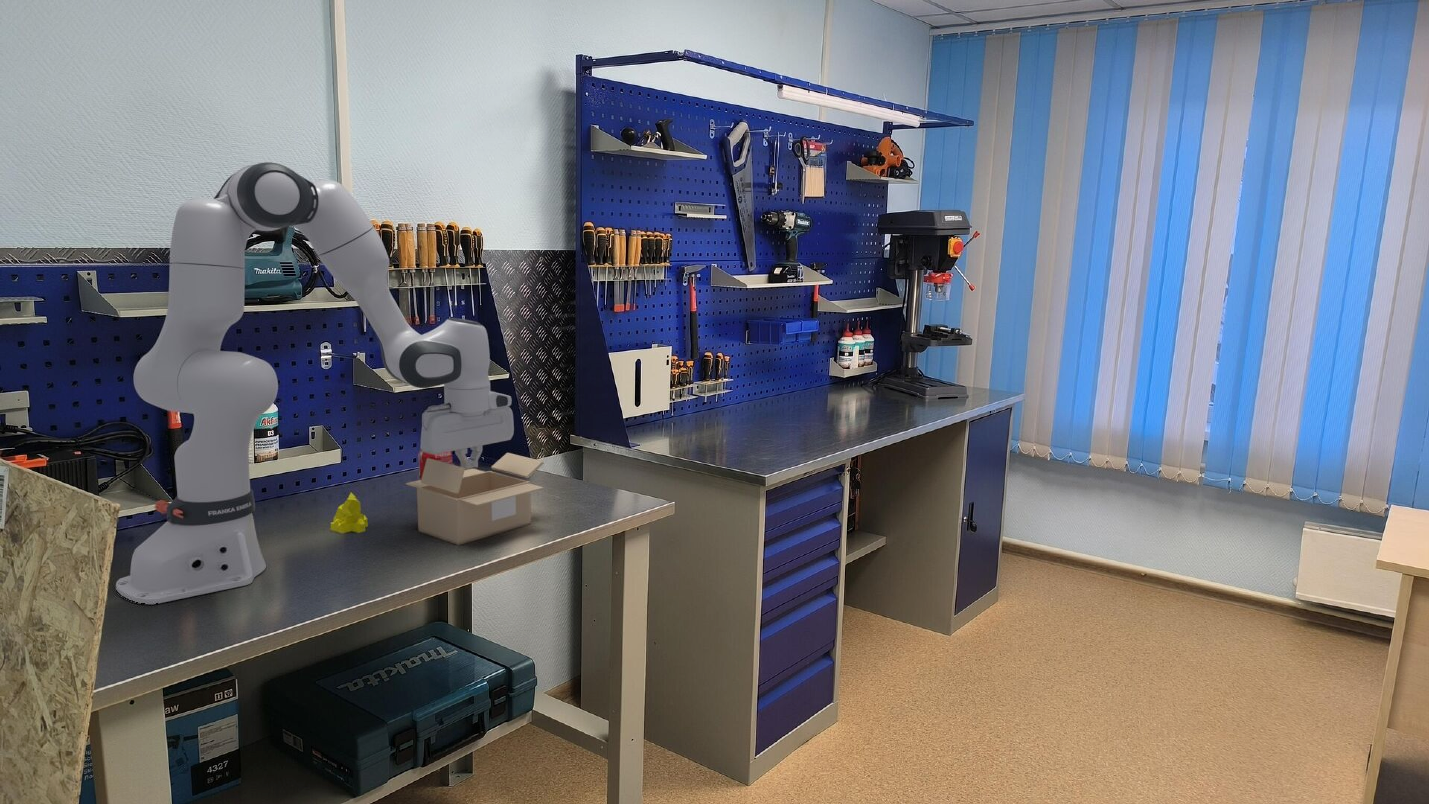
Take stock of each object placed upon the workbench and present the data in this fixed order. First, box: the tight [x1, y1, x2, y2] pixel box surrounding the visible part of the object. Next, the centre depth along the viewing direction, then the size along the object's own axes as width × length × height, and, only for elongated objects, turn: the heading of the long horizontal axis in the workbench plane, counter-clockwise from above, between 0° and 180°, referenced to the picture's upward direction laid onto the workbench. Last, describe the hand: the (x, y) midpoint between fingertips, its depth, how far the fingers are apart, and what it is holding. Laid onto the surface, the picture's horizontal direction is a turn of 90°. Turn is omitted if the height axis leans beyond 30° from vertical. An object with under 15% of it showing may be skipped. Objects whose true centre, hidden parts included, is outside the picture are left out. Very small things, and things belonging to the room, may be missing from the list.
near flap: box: [421, 458, 465, 494], centre depth 183 cm, size 5×11×1 cm
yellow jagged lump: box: [330, 492, 369, 534], centre depth 188 cm, size 6×8×8 cm
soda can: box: [417, 446, 454, 480], centre depth 205 cm, size 7×7×13 cm
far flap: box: [491, 452, 545, 479], centre depth 197 cm, size 5×11×1 cm, turn 52°
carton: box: [405, 468, 544, 546], centre depth 190 cm, size 18×23×9 cm
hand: (469, 468), depth 187 cm, fingers closed
